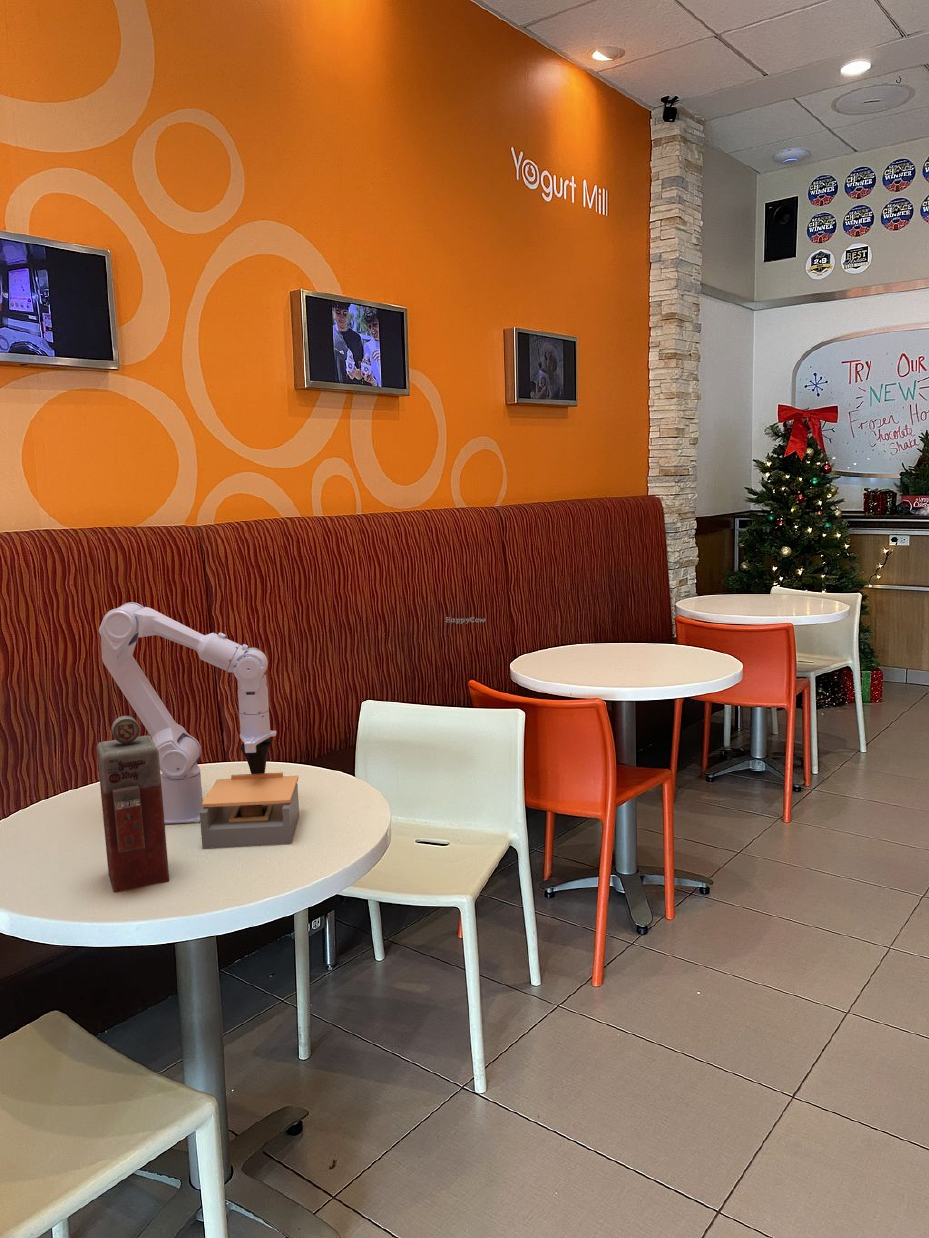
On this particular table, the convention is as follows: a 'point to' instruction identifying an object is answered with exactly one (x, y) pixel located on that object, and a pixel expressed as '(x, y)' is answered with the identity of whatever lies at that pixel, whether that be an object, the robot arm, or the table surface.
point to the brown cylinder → (251, 810)
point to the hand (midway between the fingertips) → (258, 777)
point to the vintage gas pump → (132, 808)
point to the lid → (251, 790)
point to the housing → (249, 825)
